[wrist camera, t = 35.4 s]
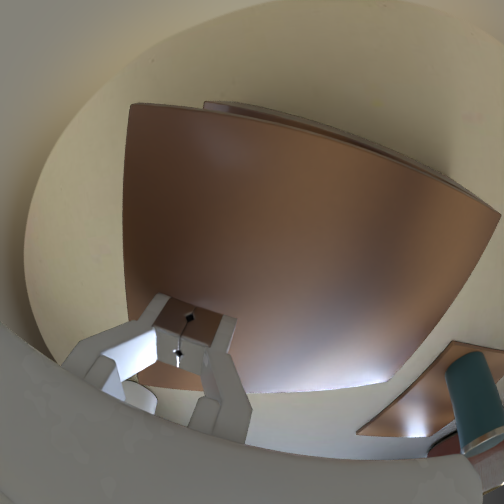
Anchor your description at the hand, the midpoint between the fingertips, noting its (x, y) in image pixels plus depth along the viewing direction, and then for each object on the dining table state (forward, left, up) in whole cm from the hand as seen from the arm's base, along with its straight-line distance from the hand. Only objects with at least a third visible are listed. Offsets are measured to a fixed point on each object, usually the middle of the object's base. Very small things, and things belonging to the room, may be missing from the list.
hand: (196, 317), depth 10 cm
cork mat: (+18, +31, -11) cm, 38 cm away
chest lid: (0, +5, -3) cm, 6 cm away
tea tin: (+10, +28, -11) cm, 32 cm away
